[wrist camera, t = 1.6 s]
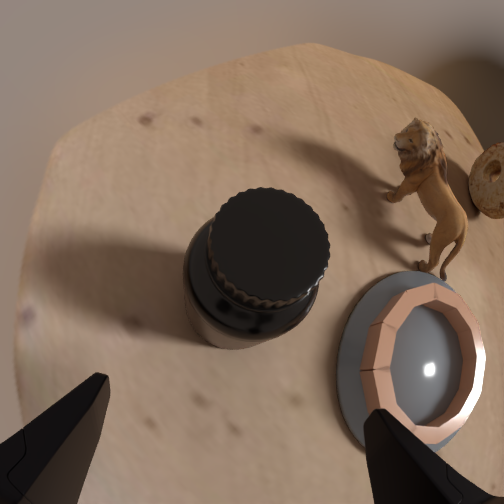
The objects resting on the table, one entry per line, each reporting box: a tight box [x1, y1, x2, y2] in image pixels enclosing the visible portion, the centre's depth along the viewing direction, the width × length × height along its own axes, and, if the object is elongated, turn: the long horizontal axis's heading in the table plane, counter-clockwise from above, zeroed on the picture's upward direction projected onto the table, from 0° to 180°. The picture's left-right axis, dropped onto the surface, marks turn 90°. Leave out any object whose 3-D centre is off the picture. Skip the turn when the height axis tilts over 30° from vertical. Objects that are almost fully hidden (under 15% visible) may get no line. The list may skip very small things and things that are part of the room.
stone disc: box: [468, 142, 504, 219], centre depth 30 cm, size 10×4×10 cm, turn 162°
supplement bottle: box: [183, 187, 330, 350], centre depth 17 cm, size 7×7×12 cm
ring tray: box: [336, 271, 485, 452], centre depth 22 cm, size 18×18×3 cm
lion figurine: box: [387, 118, 468, 281], centre depth 25 cm, size 15×5×9 cm, turn 24°
